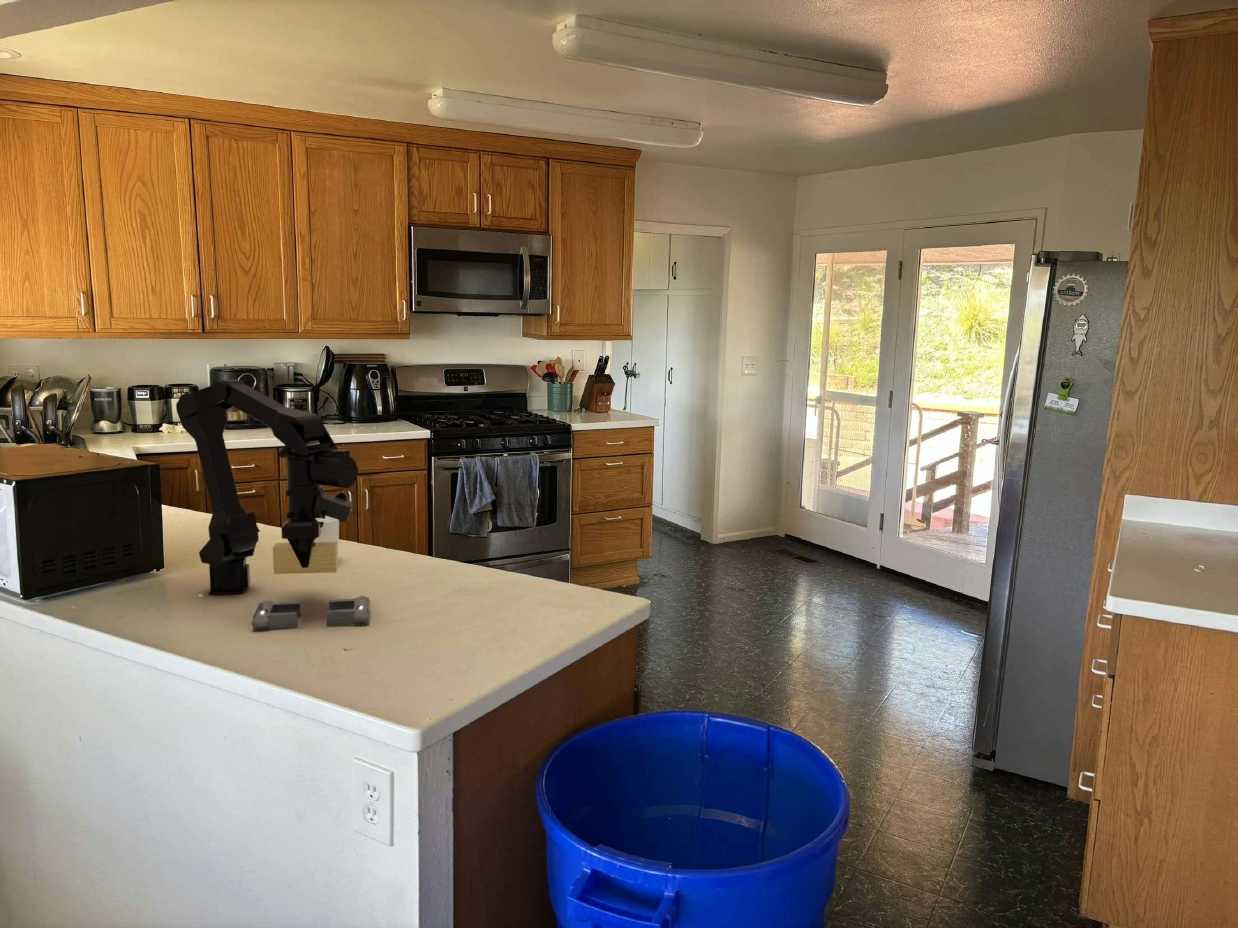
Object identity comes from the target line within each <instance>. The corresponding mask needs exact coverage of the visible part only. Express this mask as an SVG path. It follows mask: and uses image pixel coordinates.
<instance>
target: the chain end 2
mask: <svg viewBox="0 0 1238 928" xmlns="http://www.w3.org/2000/svg"><path fill="white" fill-rule="evenodd" d="M370 606H371V601H370V597H367V596H366V595H360V596H358V597H355V598H344V599H339V598H338V599H329V600H328V609H327V610H326V626H327V627H339V626H341V627H342V626H368V625H369V620H370V608H371V607H370Z"/></svg>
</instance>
